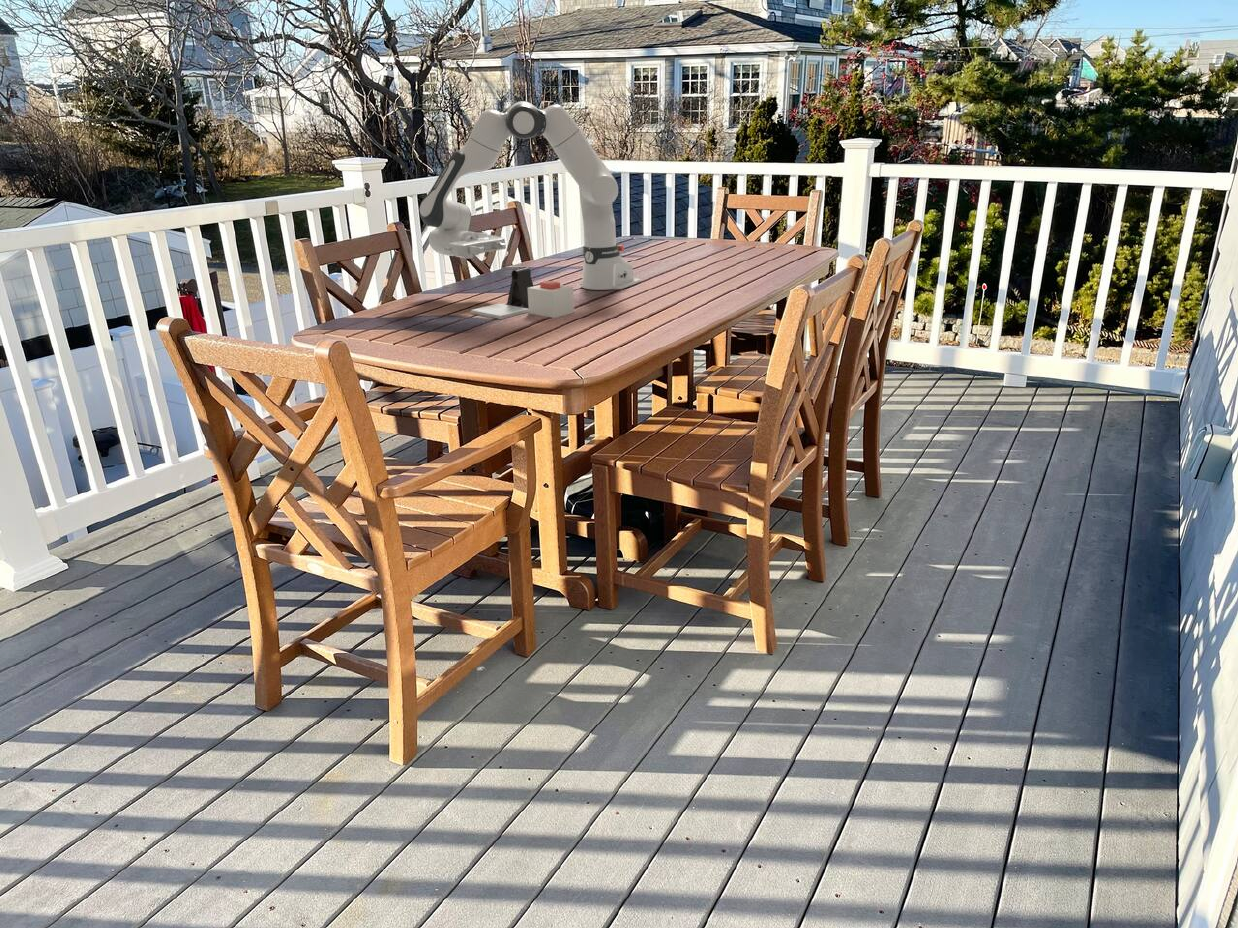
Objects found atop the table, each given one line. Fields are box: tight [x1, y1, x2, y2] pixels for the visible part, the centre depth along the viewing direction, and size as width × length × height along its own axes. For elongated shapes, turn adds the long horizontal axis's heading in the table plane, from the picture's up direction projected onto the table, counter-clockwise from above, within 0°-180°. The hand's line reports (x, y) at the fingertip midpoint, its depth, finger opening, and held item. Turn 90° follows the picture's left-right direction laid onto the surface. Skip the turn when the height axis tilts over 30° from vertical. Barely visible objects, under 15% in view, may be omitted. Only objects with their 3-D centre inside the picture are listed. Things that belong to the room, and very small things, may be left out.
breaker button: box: [539, 280, 561, 290], centre depth 278 cm, size 4×5×3 cm
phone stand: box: [506, 267, 535, 309], centre depth 289 cm, size 9×6×12 cm, turn 54°
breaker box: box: [527, 284, 575, 319], centre depth 279 cm, size 9×11×8 cm
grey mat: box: [470, 302, 529, 320], centre depth 283 cm, size 12×14×1 cm
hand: (493, 248), depth 292 cm, fingers open, 8 cm apart
